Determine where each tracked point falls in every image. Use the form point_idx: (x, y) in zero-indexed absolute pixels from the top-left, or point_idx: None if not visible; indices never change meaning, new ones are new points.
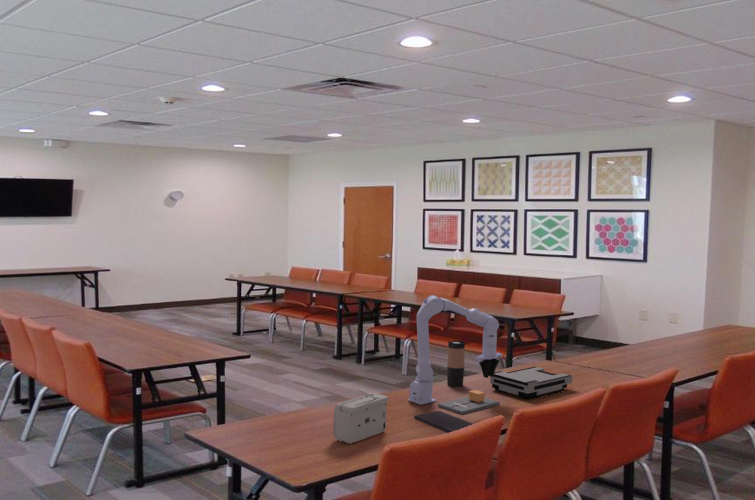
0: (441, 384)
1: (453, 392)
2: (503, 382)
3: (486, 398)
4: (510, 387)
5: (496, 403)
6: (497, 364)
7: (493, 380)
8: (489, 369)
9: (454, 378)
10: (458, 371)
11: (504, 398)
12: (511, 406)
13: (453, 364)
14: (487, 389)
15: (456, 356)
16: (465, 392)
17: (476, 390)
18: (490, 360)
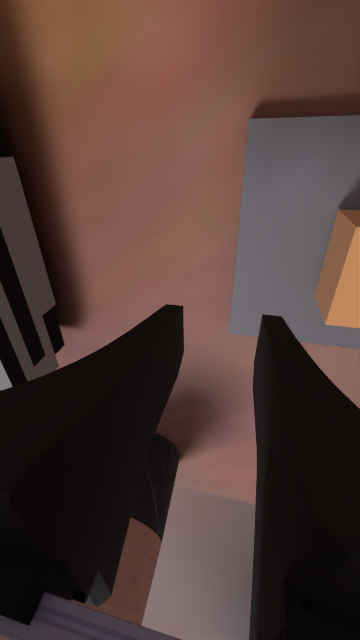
0: (187, 476)
1: (240, 420)
2: (13, 300)
3: (246, 249)
4: (7, 234)
5: (291, 117)
6: (21, 386)
7: (41, 361)
8: (157, 402)
9: (164, 477)
10: (142, 502)
11: (102, 212)
12: (208, 4)
13: (149, 555)
14: (78, 356)
15: (123, 609)
16: (196, 391)
17: (336, 311)
18: (90, 561)
